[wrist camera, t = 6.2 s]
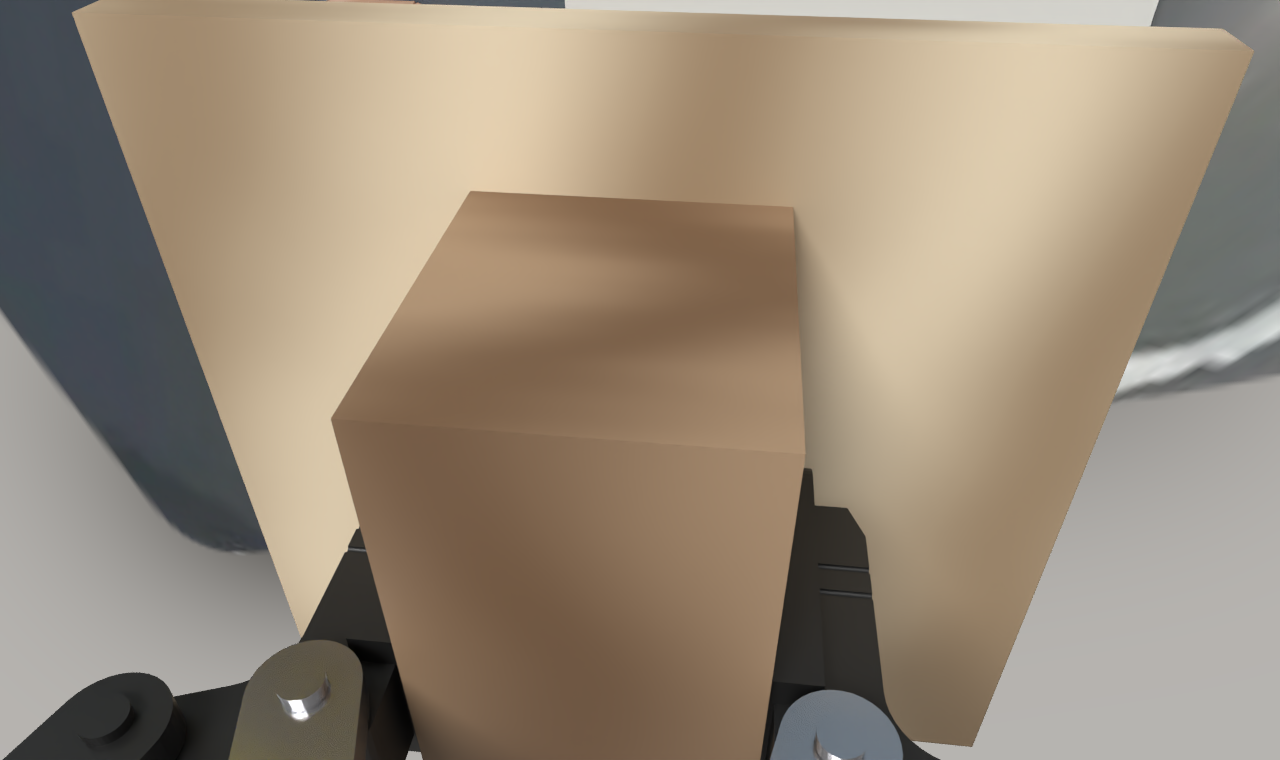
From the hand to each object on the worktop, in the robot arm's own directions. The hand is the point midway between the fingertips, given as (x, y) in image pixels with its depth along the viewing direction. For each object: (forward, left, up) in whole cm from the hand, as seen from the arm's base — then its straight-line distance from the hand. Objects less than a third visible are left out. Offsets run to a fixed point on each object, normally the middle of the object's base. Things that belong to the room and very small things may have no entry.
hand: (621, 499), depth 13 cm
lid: (0, 0, -1) cm, 1 cm away
